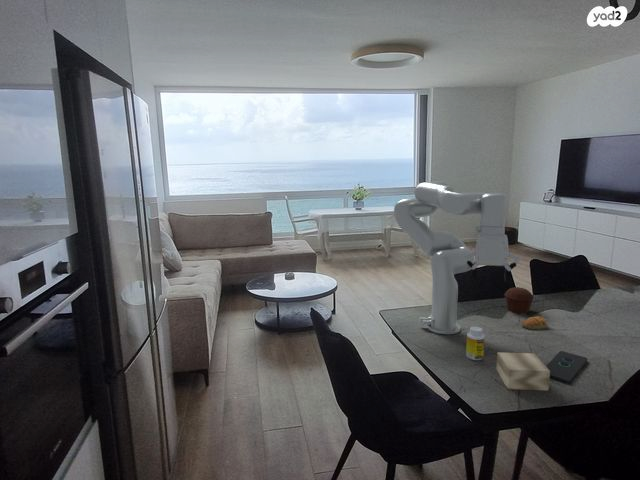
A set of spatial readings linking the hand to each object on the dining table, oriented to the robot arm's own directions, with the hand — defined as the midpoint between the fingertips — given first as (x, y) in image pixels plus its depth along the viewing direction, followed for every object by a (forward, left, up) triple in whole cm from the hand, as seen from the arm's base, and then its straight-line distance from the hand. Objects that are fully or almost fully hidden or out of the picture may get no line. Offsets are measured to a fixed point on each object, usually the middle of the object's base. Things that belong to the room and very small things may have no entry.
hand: (490, 280), depth 138 cm
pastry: (+25, +23, -25) cm, 42 cm away
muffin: (+25, +41, -25) cm, 54 cm away
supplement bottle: (-5, -6, -25) cm, 26 cm away
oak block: (+5, -20, -25) cm, 32 cm away
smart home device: (+21, -11, -26) cm, 35 cm away
